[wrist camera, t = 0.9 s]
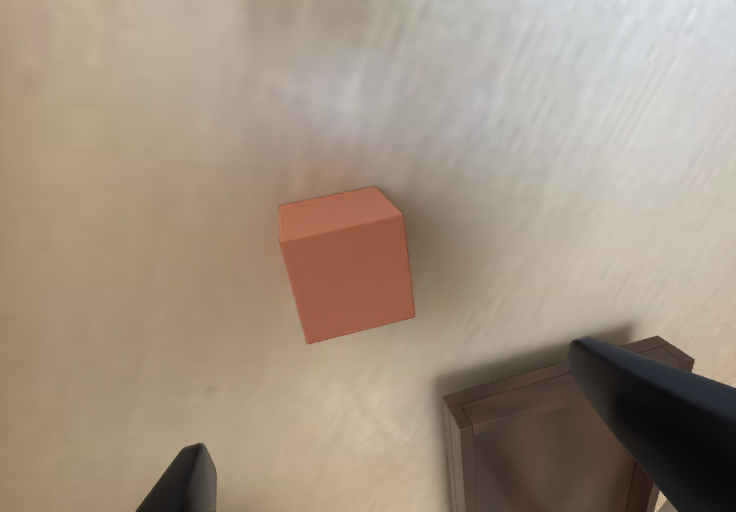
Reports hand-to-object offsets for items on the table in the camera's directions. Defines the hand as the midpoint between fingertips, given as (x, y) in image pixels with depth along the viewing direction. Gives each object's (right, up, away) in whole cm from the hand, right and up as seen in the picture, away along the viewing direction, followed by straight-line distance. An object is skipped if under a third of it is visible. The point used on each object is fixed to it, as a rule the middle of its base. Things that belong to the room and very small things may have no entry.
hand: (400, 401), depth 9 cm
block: (-2, +4, +9) cm, 11 cm away
